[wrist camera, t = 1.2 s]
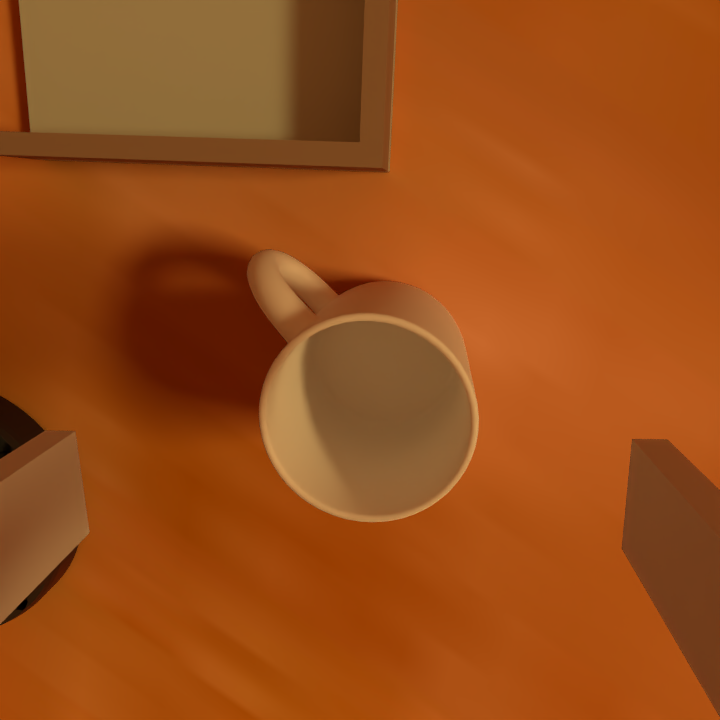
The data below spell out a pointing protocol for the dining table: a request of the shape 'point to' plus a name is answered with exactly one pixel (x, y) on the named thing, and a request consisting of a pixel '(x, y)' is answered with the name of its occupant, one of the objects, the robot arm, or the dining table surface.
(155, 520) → the dining table surface
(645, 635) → the dining table surface
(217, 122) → the shallow square tray
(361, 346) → the mug
